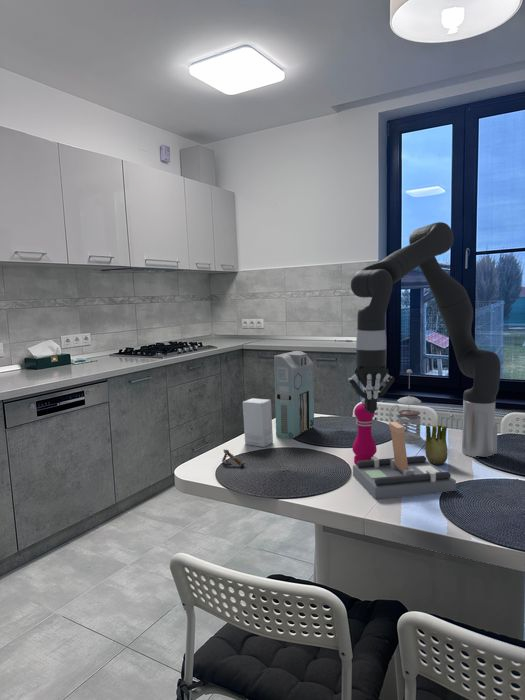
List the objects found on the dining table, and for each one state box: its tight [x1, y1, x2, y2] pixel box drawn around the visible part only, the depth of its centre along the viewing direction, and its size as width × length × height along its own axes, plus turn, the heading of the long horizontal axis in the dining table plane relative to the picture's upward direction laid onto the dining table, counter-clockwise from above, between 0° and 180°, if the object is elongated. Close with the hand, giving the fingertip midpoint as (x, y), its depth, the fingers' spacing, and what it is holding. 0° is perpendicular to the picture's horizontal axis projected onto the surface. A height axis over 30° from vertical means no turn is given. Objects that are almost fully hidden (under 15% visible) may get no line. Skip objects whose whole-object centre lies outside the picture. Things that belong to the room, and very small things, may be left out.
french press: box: [388, 369, 424, 444], centre depth 163 cm, size 10×12×25 cm
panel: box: [352, 459, 457, 500], centre depth 126 cm, size 22×16×5 cm
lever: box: [388, 421, 408, 473], centre depth 125 cm, size 2×6×13 cm, turn 9°
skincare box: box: [242, 397, 274, 448], centre depth 163 cm, size 8×7×16 cm
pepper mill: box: [352, 398, 377, 465], centre depth 142 cm, size 7×7×20 cm
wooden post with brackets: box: [221, 449, 246, 468], centre depth 144 cm, size 2×8×4 cm, turn 57°
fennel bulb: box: [424, 424, 448, 466], centre depth 140 cm, size 6×5×12 cm
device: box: [273, 350, 315, 439], centre depth 175 cm, size 16×8×30 cm, turn 147°
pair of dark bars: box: [356, 455, 452, 485], centre depth 126 cm, size 21×15×2 cm
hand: (370, 412), depth 123 cm, fingers closed
